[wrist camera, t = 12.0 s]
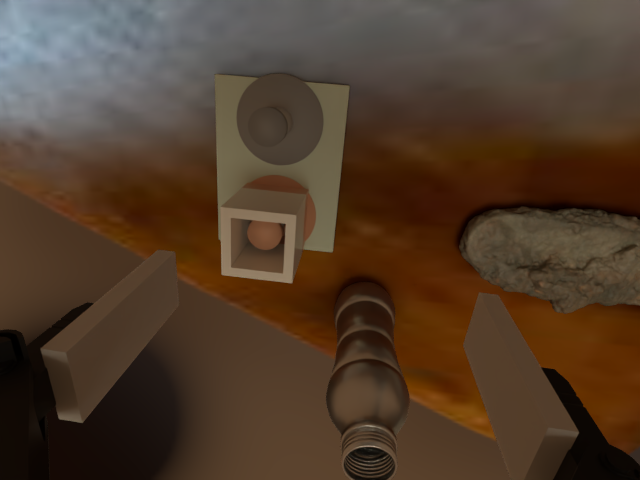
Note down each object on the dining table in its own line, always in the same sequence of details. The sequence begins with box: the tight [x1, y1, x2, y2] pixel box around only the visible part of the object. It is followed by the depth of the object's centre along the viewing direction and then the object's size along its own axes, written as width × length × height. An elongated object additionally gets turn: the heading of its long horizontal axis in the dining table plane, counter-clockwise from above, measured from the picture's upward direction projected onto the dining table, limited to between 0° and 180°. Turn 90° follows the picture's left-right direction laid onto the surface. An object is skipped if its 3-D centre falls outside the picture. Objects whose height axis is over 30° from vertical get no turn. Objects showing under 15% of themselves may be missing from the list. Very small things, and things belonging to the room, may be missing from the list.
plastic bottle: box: [326, 282, 410, 480], centre depth 33 cm, size 6×7×20 cm
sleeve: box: [220, 183, 309, 283], centre depth 34 cm, size 6×6×8 cm
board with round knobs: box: [215, 74, 350, 252], centre depth 35 cm, size 17×12×7 cm
